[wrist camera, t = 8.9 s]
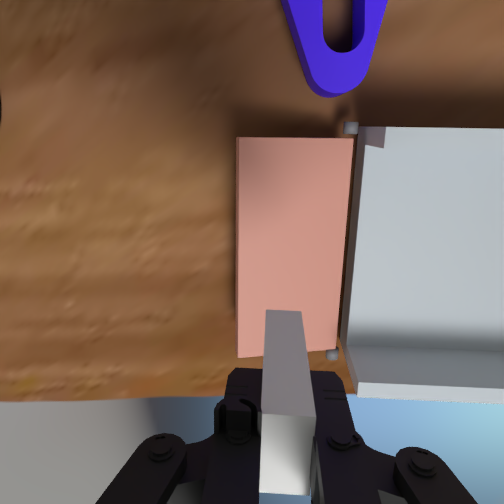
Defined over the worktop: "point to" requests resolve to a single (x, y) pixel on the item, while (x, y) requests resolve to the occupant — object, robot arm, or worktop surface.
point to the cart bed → (426, 265)
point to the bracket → (321, 56)
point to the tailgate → (290, 235)
